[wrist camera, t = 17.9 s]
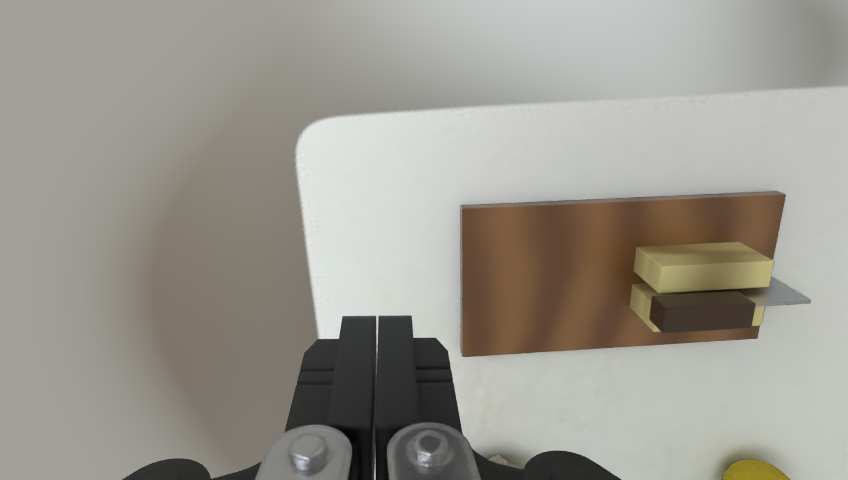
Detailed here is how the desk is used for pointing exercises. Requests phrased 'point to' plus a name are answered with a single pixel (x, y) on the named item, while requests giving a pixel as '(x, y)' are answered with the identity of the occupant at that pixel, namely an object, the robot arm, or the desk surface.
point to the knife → (718, 307)
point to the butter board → (606, 268)
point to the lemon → (753, 471)
